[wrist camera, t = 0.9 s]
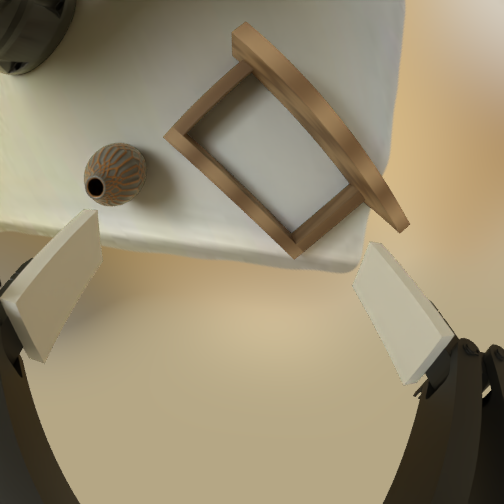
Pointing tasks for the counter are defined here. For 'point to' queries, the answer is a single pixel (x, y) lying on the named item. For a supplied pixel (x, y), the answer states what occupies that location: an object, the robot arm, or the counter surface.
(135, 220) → the counter surface
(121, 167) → the vase
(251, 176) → the counter surface
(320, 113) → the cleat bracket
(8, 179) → the counter surface
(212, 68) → the counter surface
